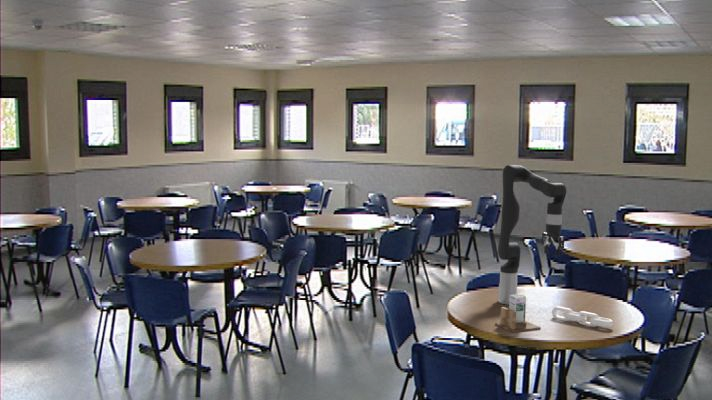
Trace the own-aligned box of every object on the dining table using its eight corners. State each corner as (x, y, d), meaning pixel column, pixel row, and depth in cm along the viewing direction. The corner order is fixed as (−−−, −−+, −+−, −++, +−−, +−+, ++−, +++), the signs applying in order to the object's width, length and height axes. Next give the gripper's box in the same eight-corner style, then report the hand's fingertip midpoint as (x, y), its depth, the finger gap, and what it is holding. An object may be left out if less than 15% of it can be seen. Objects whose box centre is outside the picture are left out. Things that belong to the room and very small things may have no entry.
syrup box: (514, 327, 328) (515, 297, 327) (508, 323, 334) (509, 294, 332) (525, 326, 330) (526, 296, 328) (518, 323, 336) (520, 293, 334)
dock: (495, 324, 336) (495, 306, 335) (522, 321, 342) (523, 303, 341) (512, 332, 323) (513, 313, 322) (540, 329, 329) (541, 310, 328)
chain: (549, 319, 348) (550, 306, 348) (555, 316, 353) (555, 304, 352) (609, 331, 329) (610, 318, 328) (614, 328, 333) (614, 316, 333)
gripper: (538, 221, 349) (536, 253, 351) (557, 225, 336) (555, 258, 338) (550, 220, 352) (548, 252, 354) (569, 224, 339) (567, 257, 341)
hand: (552, 255), depth 346 cm, fingers open, 8 cm apart
